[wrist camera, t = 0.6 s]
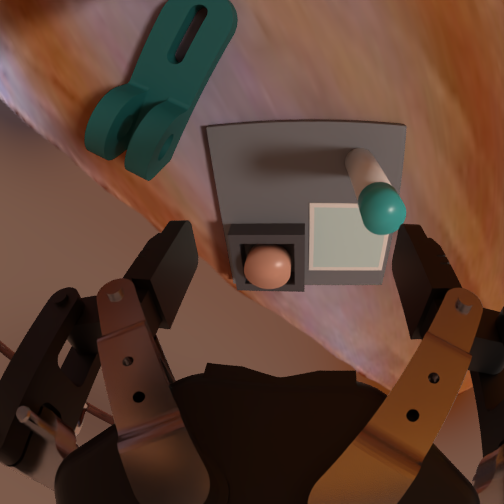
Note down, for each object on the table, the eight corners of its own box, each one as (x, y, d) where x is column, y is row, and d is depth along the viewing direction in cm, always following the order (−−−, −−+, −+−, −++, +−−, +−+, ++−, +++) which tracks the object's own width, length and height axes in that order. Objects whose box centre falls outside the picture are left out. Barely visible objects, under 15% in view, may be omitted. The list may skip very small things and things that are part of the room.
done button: (244, 242, 33) (241, 253, 31) (290, 242, 32) (290, 253, 30) (249, 276, 36) (246, 288, 34) (291, 277, 35) (290, 289, 33)
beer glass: (72, 396, 95) (59, 426, 84) (81, 398, 93) (68, 429, 81) (84, 405, 99) (72, 434, 87) (93, 407, 97) (81, 437, 85)
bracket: (171, 159, 30) (138, 193, 24) (120, 134, 29) (78, 162, 23) (251, 7, 20) (234, -9, 14) (187, -17, 18) (150, -34, 12)
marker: (344, 146, 26) (364, 193, 18) (376, 147, 25) (409, 195, 18) (343, 177, 28) (360, 234, 20) (374, 178, 27) (401, 235, 20)
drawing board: (208, 125, 27) (199, 133, 25) (403, 124, 24) (414, 132, 22) (234, 279, 39) (230, 295, 37) (380, 280, 36) (384, 297, 34)
